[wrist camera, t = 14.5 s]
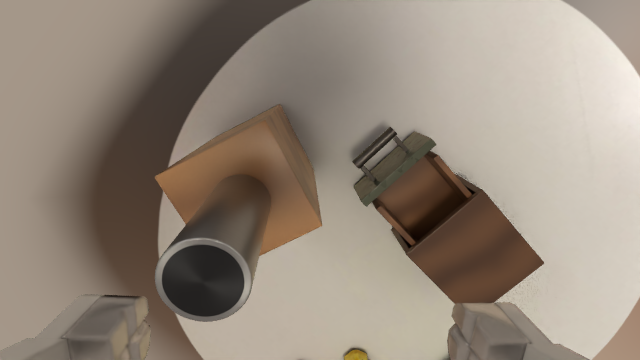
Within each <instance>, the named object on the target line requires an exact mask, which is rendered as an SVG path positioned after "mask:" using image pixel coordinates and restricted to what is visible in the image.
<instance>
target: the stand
mask: <svg viewBox="0 0 640 360" xmlns="http://www.w3.org/2000/svg"><path fill="white" fill-rule="evenodd" d="M238 174H243V175H249V176H252V177H254V178H256V179H258V180H259V181H260V182H262V183H263V184H264V186H265V187H266V188H267V190H268V192H269V194H270V198H271V208H270V212H269V216H268V220H267V225H266V229H265V233H264V237H263V242H262V246H261V250H260V254H259V256H260V255H263V254H265V253H267V252H269V251H271V250H273V249H275V248H277V247H279V246H281V245H283V244H285V243H287V242H289V241H292V240H294V239H296V238H298V237H300V236H302V235H304V234H306V233H308V232H310V231H312V230H314V229H316V228H319V227H321V226H322V221H321V214H320V208H319V201H318V195H317V188H316V182H315V175H314V169H313V167H312V165H311V163H310V161H309V159H308V157H307V155H306V153H305V151H304V150H303V148H302V146H301V144H300V142H299V140H298V138H297V136H296V134H295V132H294V130H293V128H292V126H291V125H290V123H289V121H288V119H287V117H286V115H285V113H284V111H283V109H282V107H281V105H280V104H279V105H277V106H275V107H273V108H271V109H269V110H267V111H265V112H263V113H261V114H259V115H257V116H256V117H254V118H252V119H250V120H248V121H246V122H244V123H242V124H240V125H238V126H236V127H234V128H232V129H230V130H228V131H226V132H225V133H223V134H221V135H219V136H217V137H215V138H213V139H212V140H210V141H209V142H207V143H206V144H204V145H202V146H201V147H199V148H198V149H196V150H195V151H193V152H192V153H190V154H189V155H187V156H186V157H184V158H183V159H181V160H179V161H178V162H176V163H175V164H173V165H172V166H170V167H169V168H167V169H166V170H164V171H163V172H161V173H160V174H158V175H157V176H155V179H156V180H157V182H158V183H159V184H160V186H161V188H162V189H163V191H164V192H165V194H166V195H167V197H168V198H169V200H170V201H171V203H172V204H173V206H174V207H175V209H176V210H177V212H178V213H179V215H180V216H181V218H182V219H183V221H184V222H185V224H187V223H188V222H189V221H190V219H191V218H192V217H193V216H194V214H195V213H196V212H197V211H198V209H199V208H200V207H201V206H202V204H203V203H204V202H205V201H206V199H207V198H208V197H209V196H210V194H211V193H212V192H213V191H214V189H215V188H216V187H217V186H218V184H219V183H220V182H221V181H223V180H224V179H225V178H227V177H230V176H233V175H238Z"/></svg>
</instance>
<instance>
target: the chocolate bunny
mask: <svg viewBox="0 0 640 360" xmlns="http://www.w3.org/2000/svg"><path fill="white" fill-rule="evenodd" d="M344 360H368V359H367V354H366V353H364V352H361V351H359V350H352V351H351V352H350V353H348V354H347V355H346V356H345V357H344Z"/></svg>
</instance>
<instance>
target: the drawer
mask: <svg viewBox="0 0 640 360" xmlns="http://www.w3.org/2000/svg"><path fill="white" fill-rule="evenodd" d="M396 135H397V133H396V132H395V131H394V130H393V129H392V128H391V127H389V128H388V129H387V130H386V131H385V132H384V133H383V134H382V135H381V136H380V137H378V138H377V139H376V140H375V141H374V142H373V143H372V144H371V145H370V146H369V147H368V148H366V149H365V150H364V151H363V152H362V153H361V154H360V155H359V156H358V157H357V158H356V159H355V160H353V161H352V162H353V163H354V164H355V165H356V166H357V168H359V169H360V168H361V169H362V171H363V172H364V173H365V174H366V176H365V177H364V178H363V179H361V180H360V181H359V182H358V183H357V184H356V185H355V186H354V188H355V190H356V192H357V194H358V196H359V198H360V200H361V202H362V203H363V204H364V205H365V206H368V205H369V204H370V203H371V202H372V203H373V205H374V206H375V208H376V210H377V211H378V212H379V213H380V214H381V215H382V216H383V217H384V218H385V219H386V220H387V221H388V222H389V223H390V224H391V225H392V226H393V227H394V228H395V229H396V230H397V231H398V232H399V233H400V234H401V235H402V236H403V237H404V238H405V239H406V240H407V241H408V243H409V244H410V245H411V246H413V245H414V244H415V243H417V242H418V241H419V240H420V239H421V238H422V237H424V236H425V235H426V234H427V233H428V232H430V231H431V230H432V229H433V228H434V227H436V226H437V225H438V224H439V223H440V222H441V221H443V220H444V219H445V218H446V217H447V216H449V215H450V214H451V213H452V212H453V211H455V210H456V209H457V208H458V207H459V206H460V205H462V204H463V203H464V202H465V201H466V200H468V199H469V198H470V197H471V196H472V194H471V193H470V192H469V191H468V189H467V188H466V187H465V186H464V185H463V184H462V182H461V181H460V180H459V179H458V178H457V177H456V175H455V174H454V173H453V172H452V171H451V170H450V168H449V167H448V166H447V165H446V164H445V163H444V161H443V160H442V159H441V158H440V157H439V156H438V155H437V154H435V153H433V152H431V151H430V150H431V149H432V148H433V147H434V146H436V143H435V142H434V141H433V140H432V139H431V138H429V137H427V136H424V135H422V134H420V133H417V132H413V133H412V134H411V135H410V136H409V137H408V138H407V139H406V140H405V141H403V142H402V141H401V140H400V139H399V138H398V137H397V136H396ZM391 139H393V140H394V141H395V142H396V143H397V144H398V145H399V146H398V147H397V148H396V149H395V150H394V151H392V152H391V153H390V154H389V155H388V156H387V157H386V158H385V159H384V160H382V161H381V162H380V163H379V164H378V165H377V166H376V167H375V168H374V169H373V170H371V171H370V172H369V170H368V169H367V168H366V167H365V166H364V164H365V163H366V162H367V161H368V160H369V159H371V158H372V157H373V156H374V155H375V154H376V153H377V152H378V151H379V150H380V149H381V148H383V147H384V146H385V145H386V144H387V143H388V142H389V141H390V140H391Z"/></svg>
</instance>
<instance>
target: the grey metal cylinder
mask: <svg viewBox="0 0 640 360" xmlns="http://www.w3.org/2000/svg"><path fill="white" fill-rule="evenodd" d="M270 208H271V198H270V194H269V192H268V190H267V188H266V187H265V186H264V184H263V183H262V182H260V181H259V180H258V179H256V178H254V177H252V176H249V175H243V174H238V175H233V176H230V177H227V178H225V179H224V180H223V181H221V182H220V183H219V184H218V186H217V187H216V188H215V189H214V191H213V192H212V193H211V194H210V196H209V197H208V198H207V199H206V201H205V202H204V203H203V204H202V206H201V207H200V208H199V209H198V211H197V212H196V213H195V214H194V216H193V217H192V218H191V219H190V221H189V222H188V223H187V224H186V226H185V227H184V228H183V229H182V231H181V232H180V233H179V235H178V236H177V237H176V238H175V240H174V241H173V242H172V243H171V245H170V246H169V247H168V248H167V250H166V251H165V252H164V253H163V255H162V256H161V258H160V259H159V261H158V263H157V267H156V271H155V283H156V288H157V291H158V293H159V295H160V297H161V299H162V300H163V302H164V303H165V304H166V305H167V306H168V307H169V308H170V309H171V310H173V311H174V312H175V313H177V314H179V315H181V316H183V317H185V318H188V319H191V320H195V321H203V322H208V321H217V320H221V319H224V318H226V317H229V316H230V315H232V314H234V313H235V312H237V311H238V310H239V309H240V308H241V307H242V306H243V305H244V304H245V302H246V301H247V299H248V297H249V295H250V292H251V288H252V284H253V280H254V276H255V271H256V267H257V263H258V259H259V254H260V250H261V246H262V242H263V237H264V233H265V229H266V225H267V220H268V216H269V212H270Z"/></svg>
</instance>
